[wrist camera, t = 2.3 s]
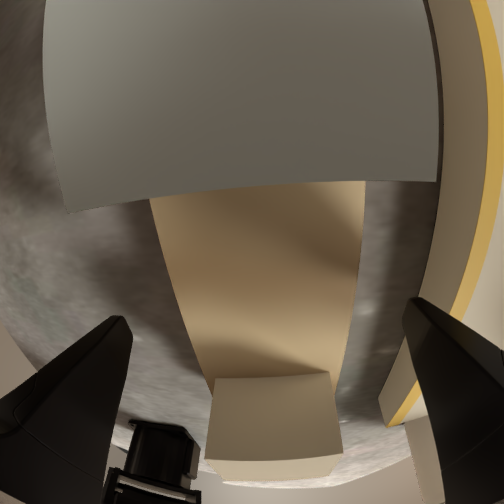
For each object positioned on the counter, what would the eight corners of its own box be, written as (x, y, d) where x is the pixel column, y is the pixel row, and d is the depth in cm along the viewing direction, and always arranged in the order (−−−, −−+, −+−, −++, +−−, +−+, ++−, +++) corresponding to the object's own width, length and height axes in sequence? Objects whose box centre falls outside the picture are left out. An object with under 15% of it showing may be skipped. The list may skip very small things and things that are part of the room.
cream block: (229, 416, 13) (224, 480, 10) (215, 378, 11) (204, 458, 8) (320, 411, 13) (328, 475, 9) (329, 371, 11) (343, 453, 7)
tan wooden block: (317, 378, 17) (324, 427, 14) (232, 383, 18) (228, 432, 14) (313, -7, 7) (336, -52, 3) (166, 8, 7) (126, -27, 4)
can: (394, 429, 23) (412, 515, 12) (419, 402, 20) (448, 502, 9) (435, 418, 23) (457, 494, 12) (462, 389, 20) (494, 475, 9)
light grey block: (158, 158, 7) (67, 213, 3) (142, 26, 5) (49, -20, 1) (348, 141, 6) (435, 181, 3) (333, 4, 4) (396, -70, 1)
